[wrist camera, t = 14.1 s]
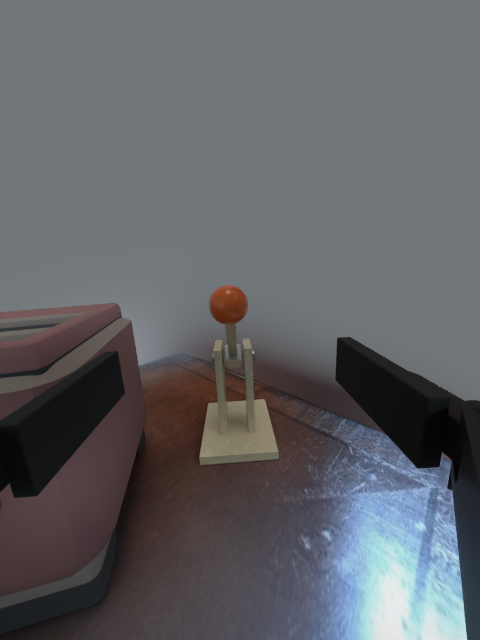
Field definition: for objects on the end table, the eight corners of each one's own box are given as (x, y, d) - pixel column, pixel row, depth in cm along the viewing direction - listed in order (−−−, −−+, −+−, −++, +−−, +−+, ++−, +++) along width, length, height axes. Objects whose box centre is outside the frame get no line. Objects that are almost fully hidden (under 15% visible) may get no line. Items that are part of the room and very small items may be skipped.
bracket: (278, 459, 30) (276, 357, 27) (200, 465, 29) (188, 363, 26) (265, 405, 41) (262, 330, 38) (208, 409, 41) (201, 334, 38)
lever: (250, 309, 19) (246, 276, 21) (206, 312, 19) (206, 278, 21) (246, 370, 33) (244, 347, 35) (221, 372, 33) (220, 349, 35)
